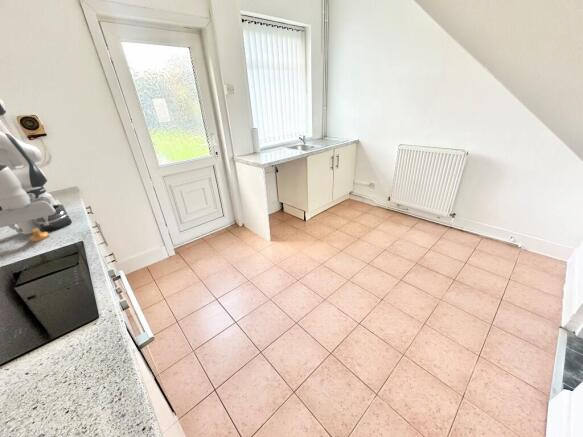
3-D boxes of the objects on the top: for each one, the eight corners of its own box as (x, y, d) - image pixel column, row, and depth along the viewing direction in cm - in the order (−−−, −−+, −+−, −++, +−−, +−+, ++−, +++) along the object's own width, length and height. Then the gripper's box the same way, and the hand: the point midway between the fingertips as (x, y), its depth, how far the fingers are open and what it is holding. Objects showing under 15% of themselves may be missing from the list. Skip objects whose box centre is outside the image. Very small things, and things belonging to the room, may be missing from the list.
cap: (32, 238, 117) (27, 229, 115) (50, 233, 121) (45, 225, 118) (30, 244, 113) (24, 235, 110) (48, 238, 116) (43, 230, 114)
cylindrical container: (29, 234, 121) (-1, 188, 110) (19, 233, 123) (-13, 188, 111) (45, 227, 127) (17, 183, 116) (35, 227, 129) (6, 183, 117)
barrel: (44, 225, 129) (34, 209, 125) (72, 218, 136) (63, 202, 131) (40, 234, 121) (29, 216, 116) (71, 226, 127) (61, 209, 122)
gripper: (48, 193, 115) (62, 219, 121) (-14, 206, 104) (5, 233, 111) (46, 197, 110) (61, 223, 117) (-19, 210, 100) (2, 238, 106)
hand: (33, 228), depth 114 cm, fingers open, 8 cm apart
